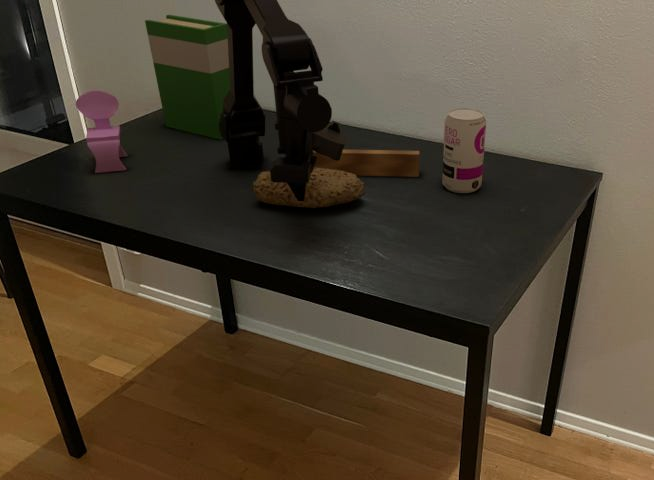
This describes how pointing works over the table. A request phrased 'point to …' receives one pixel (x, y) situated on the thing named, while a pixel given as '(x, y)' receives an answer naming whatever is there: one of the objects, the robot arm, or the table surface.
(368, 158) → the back rail
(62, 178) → the table surface
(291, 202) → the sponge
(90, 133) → the toy chair
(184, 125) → the hardback book
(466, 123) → the supplement can
